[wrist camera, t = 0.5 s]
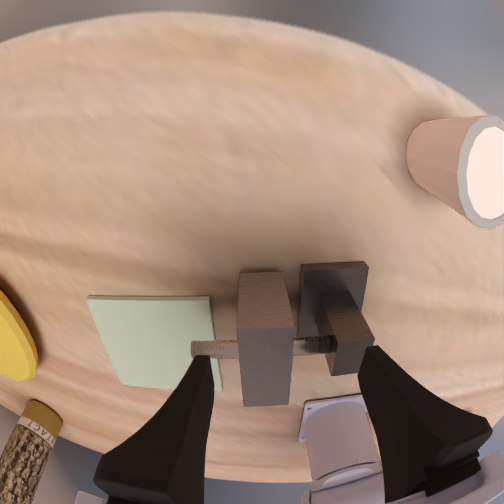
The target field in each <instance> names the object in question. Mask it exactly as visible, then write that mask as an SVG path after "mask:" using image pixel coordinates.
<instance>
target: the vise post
mask: <svg viewBox="0 0 504 504" xmlns="http://www.w3.org/2000/svg"><path fill="white" fill-rule="evenodd" d="M368 270H369V267H368V265H367V264H366V263H365V262H364V261H362V262H341V263H318V264H302V265H301V285H300V302H299V317H298V331H297V338H294V345H293V356H301V355H313V354H324V353H325V356H326V360H327V363H328V367H329V370H330V373H331V376H337V375H345V374H352V373H359V369H360V366H361V363H362V360H363V356H364V353H365V350H366V347H369V346H373V343H374V340H375V338H374V336H373V334H372V332H371V330H370V328H369V327H368V325H367V323H366V321H365V319H364V317H363V315H362V313H361V309H362V304H363V299H364V294H365V288H366V282H367V276H368ZM196 355H210V359H233V358H239V351H238V340H230V341H192V342H191V356H192V358H194V357H195V356H196Z"/></svg>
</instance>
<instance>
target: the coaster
mask: <svg viewBox="0 0 504 504" xmlns="http://www.w3.org/2000/svg"><path fill="white" fill-rule="evenodd" d="M86 300H87V303H88V306H89V309H90V312H91V314H92V317H93V320H94V322H95V325H96V328H97V330H98V333H99V335H100V338H101V340H102V342H103V345H104V347H105V350H106V352H107V354H108V356H109V359H110V361H111V363H112V365H113V367H114V370H115V372H116V374H117V376H118V378H119V380H120V382H121V384H123V385H131V386H140V387H150V388H161V389H176V387H177V386H178V384H179V382H180V381H181V379H182V378H183V376H184V375H185V373H186V371H187V370H188V368H189V366H190V364H191V362H192V360H193V358H192V356H191V342H192V341H216V340H215V333H214V326H213V318H212V311H211V303H210V296H193V297H136V296H90V295H89V296H88V297H87V299H86ZM210 361H211V367H212V373H213V379H214V391H223V385H222V378H221V372H220V366H219V360H218V359H210Z"/></svg>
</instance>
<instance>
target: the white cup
mask: <svg viewBox="0 0 504 504" xmlns="http://www.w3.org/2000/svg"><path fill="white" fill-rule="evenodd" d="M406 160H407V165H408V171H409V172H410V174H411V176H412V178H413V179H414V181H415V183H417V184H418V185H419V186H421V187H422V188H423V189H424V190H426V191H427V192H429V193H430V194H432V195H433V196H435V197H436V198H438V199H439V200H441V201H442V202H444V203H445V204H447V205H448V206H450V207H451V208H452V209H454V210H455V211H457V212H458V213H459V214H461V215H462V216H463V217H465V218H466V219H467V220H469V221H470V222H471V223H473V224H474V225H475V226H477V227H478V228H484V229H490V230H491V229H493V228H495V227H497V226H499V225H501V224H503V223H504V120H502V119H500V118H498V117H496V116H494V115H493V116H473V117H460V118H448V119H438V120H431V121H426V122H422V123H421V124H420V125H418V126H417V127H416V128H415V129H414V130H413V131H412V133H411V135H410V137H409V140H408V142H407V149H406Z"/></svg>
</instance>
